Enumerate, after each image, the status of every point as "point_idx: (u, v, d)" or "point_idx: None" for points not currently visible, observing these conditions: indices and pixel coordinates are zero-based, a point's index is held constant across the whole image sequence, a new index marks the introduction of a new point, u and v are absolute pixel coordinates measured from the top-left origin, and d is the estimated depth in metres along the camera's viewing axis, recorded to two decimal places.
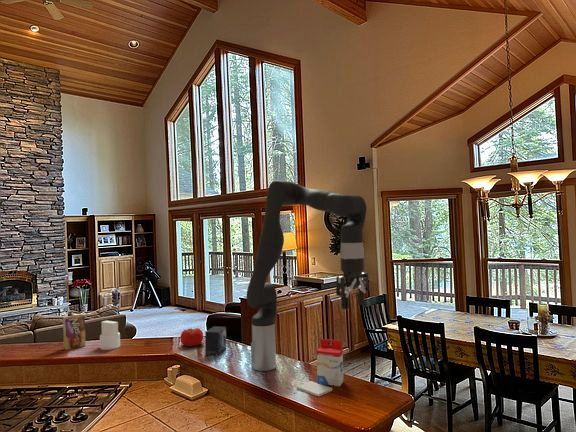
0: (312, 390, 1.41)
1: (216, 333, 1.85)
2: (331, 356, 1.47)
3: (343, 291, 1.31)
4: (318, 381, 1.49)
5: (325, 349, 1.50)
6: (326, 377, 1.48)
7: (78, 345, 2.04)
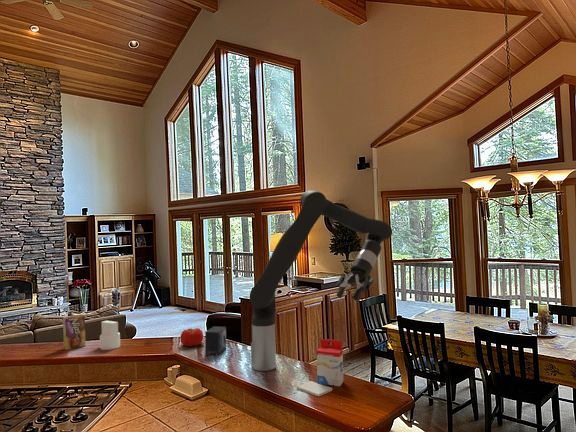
0: (312, 390, 1.41)
1: (216, 333, 1.85)
2: (331, 356, 1.47)
3: None
4: (318, 381, 1.49)
5: (325, 349, 1.50)
6: (326, 377, 1.48)
7: (78, 345, 2.04)
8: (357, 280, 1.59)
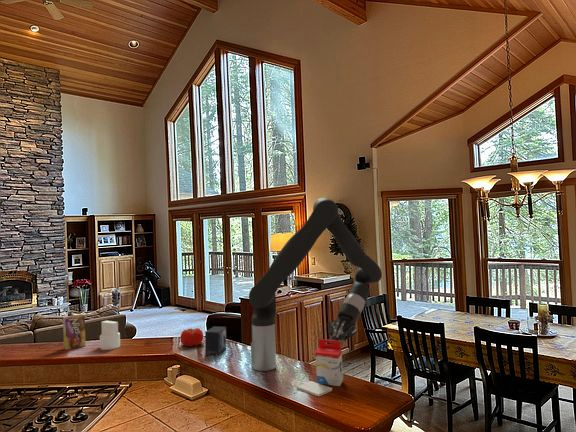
0: (312, 390, 1.41)
1: (216, 333, 1.85)
2: (330, 358, 1.46)
3: None
4: (318, 381, 1.49)
5: (324, 350, 1.49)
6: (326, 378, 1.48)
7: (78, 345, 2.04)
8: (341, 327, 1.54)
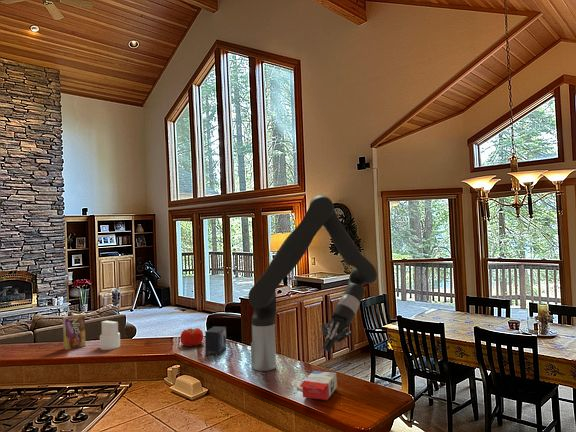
0: None
1: (216, 333, 1.85)
2: None
3: None
4: None
5: (310, 392, 1.35)
6: None
7: (78, 345, 2.04)
8: (335, 329, 1.51)
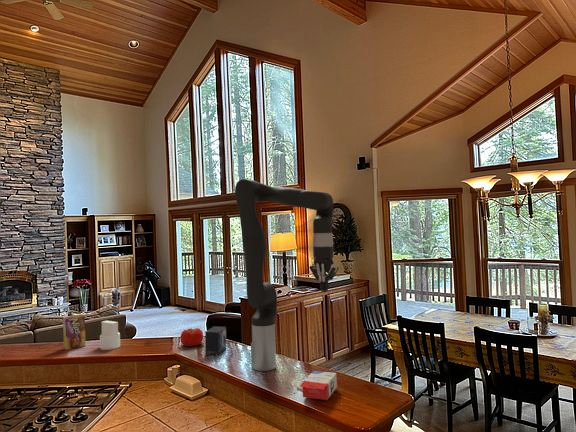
0: None
1: (216, 333, 1.85)
2: None
3: None
4: None
5: (310, 392, 1.35)
6: None
7: (78, 345, 2.04)
8: (322, 271, 1.57)
